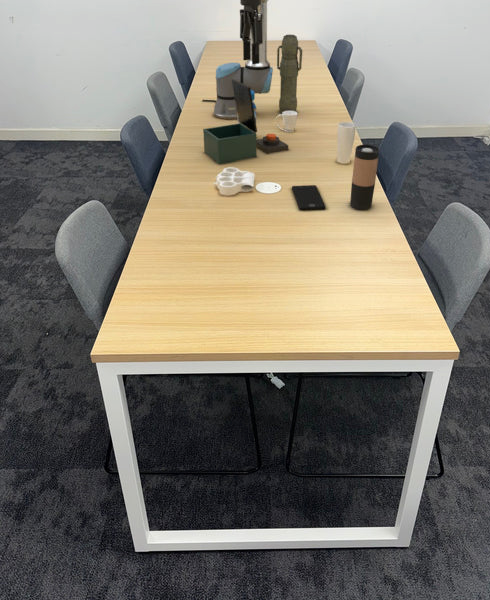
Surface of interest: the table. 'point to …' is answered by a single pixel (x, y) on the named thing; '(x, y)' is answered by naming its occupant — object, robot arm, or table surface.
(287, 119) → the cup
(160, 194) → the table surface
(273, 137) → the button
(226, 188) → the white holed block
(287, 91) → the thermos
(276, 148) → the control pad
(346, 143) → the drinking glass
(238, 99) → the box lid
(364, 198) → the travel mug
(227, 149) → the green box
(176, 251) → the table surface
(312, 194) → the cell phone
